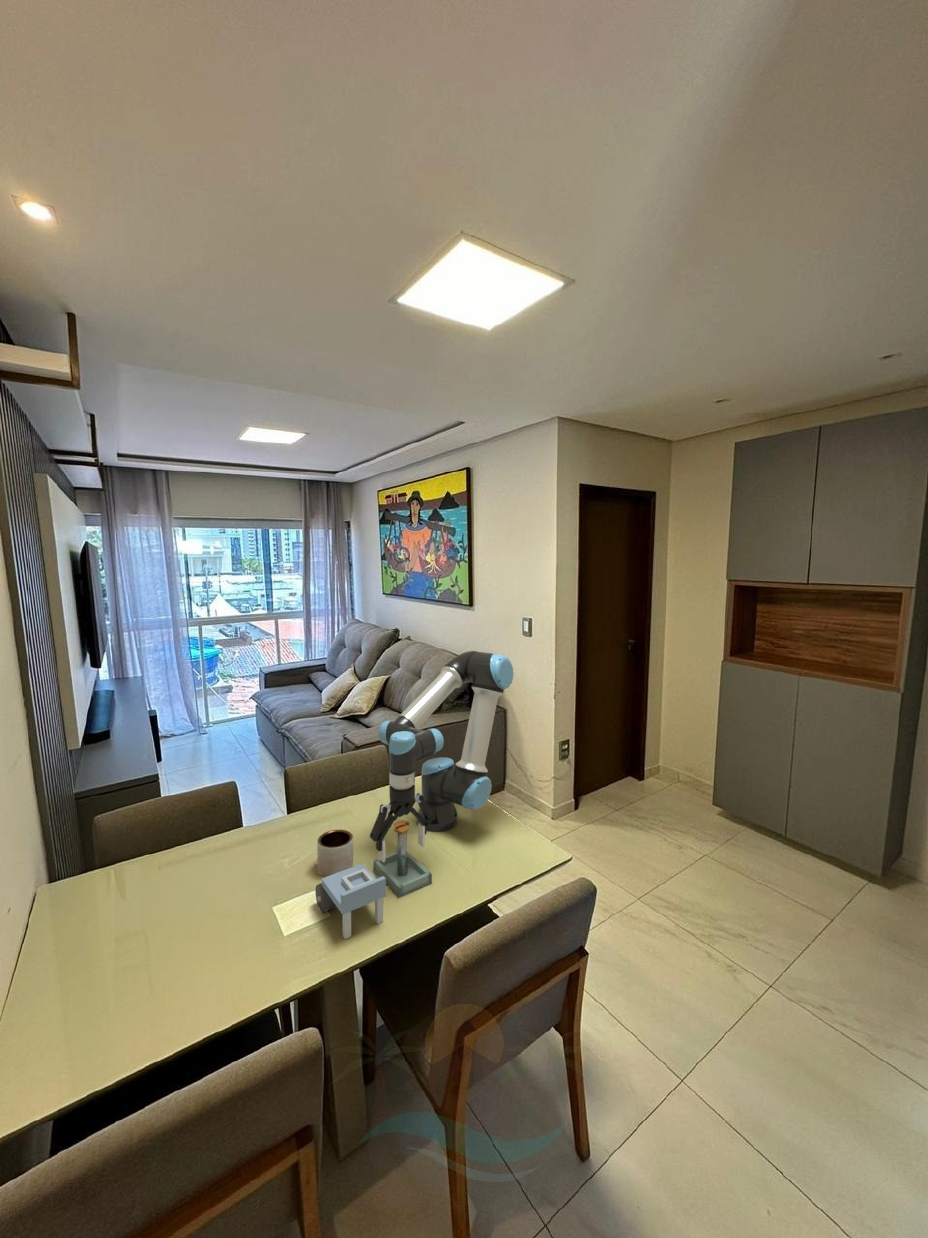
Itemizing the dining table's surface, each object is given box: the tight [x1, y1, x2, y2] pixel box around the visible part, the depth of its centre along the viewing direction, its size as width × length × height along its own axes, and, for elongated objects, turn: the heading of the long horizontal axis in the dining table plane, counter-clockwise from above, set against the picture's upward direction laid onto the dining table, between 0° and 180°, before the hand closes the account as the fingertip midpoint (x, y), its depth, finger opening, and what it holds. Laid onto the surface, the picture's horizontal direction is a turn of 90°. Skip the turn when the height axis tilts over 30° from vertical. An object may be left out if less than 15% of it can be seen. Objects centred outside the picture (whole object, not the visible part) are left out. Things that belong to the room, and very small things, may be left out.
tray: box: [373, 850, 433, 898], centre depth 149 cm, size 16×11×3 cm
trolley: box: [314, 863, 387, 940], centre depth 133 cm, size 18×14×12 cm
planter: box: [316, 829, 354, 877], centre depth 153 cm, size 11×11×10 cm
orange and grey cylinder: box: [393, 819, 410, 876], centre depth 148 cm, size 5×5×16 cm
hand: (402, 852), depth 148 cm, fingers open, 13 cm apart
